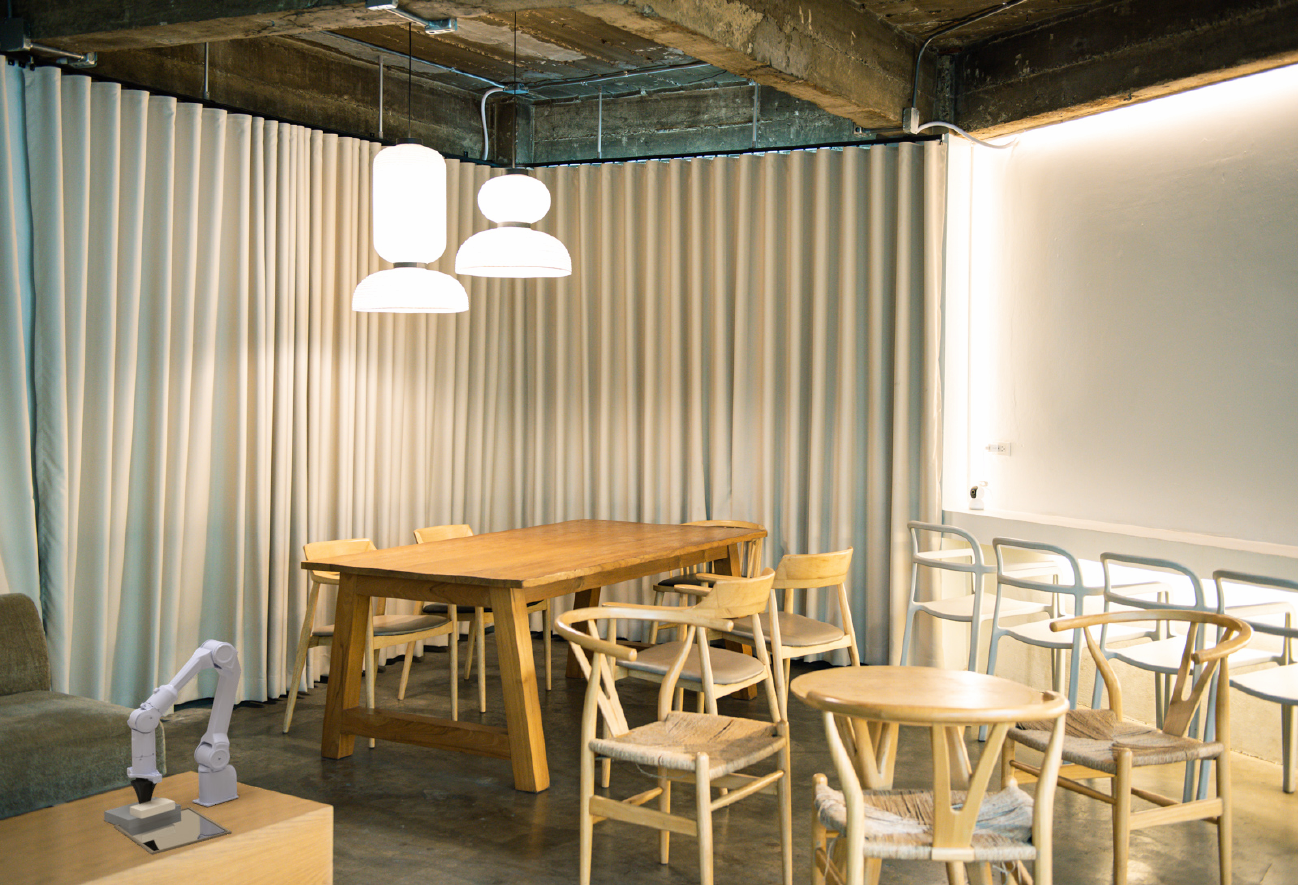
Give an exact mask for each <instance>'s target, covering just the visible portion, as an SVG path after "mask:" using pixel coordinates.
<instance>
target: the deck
mask: <svg viewBox="0 0 1298 885" xmlns="http://www.w3.org/2000/svg"><path fill="white" fill-rule="evenodd" d="M159 798H160V797H157V796H152V799H151V801H152V800H156V799H159ZM138 804H139V801H136V802H133V803H129V804H125V805H122V806H119V807H115V808H110V809H107V810H104V811H103V817H104V821H105V822H106V823H110V824H113V825H118V824H120V825H121V826H123V827H126V828H129V829H130V828H133V827H136V826H140V825H143V824H146V823H150V822H153V821H156V820H160V819H163V818H166V817H170V816H173V815H176V814H180V813H181V809H182V805H181V804H178V803H176V802H175V809H173V810H170V811H166V812H163V813H159V814H156V815H153V816H149V817H146V818H142V819H141V818H138V817H135V816H133V815H130V807H131V806H134V805H138Z"/></svg>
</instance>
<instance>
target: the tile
mask: <svg viewBox="0 0 1298 885" xmlns="http://www.w3.org/2000/svg"><path fill="white" fill-rule="evenodd" d="M158 798H159V799H156V800H152V801H149V802H145V803H141V804H138V805H134V806H131V807H130V815H133V816H135V817H138V818H141V819H142V818H146V817H149V816H153V815H156V814H159V813H163V812H166V811H170V810H173V809H175V803H176V801H175V800H172V799H170V798H167V797H158Z"/></svg>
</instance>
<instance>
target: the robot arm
mask: <svg viewBox="0 0 1298 885" xmlns="http://www.w3.org/2000/svg"><path fill="white" fill-rule="evenodd" d="M238 653H239V651H238V650H237V649H236V648H235V647H234V646H233V645H232V643H230V642H225V641H219V640H218V639H213V638H212V639H211V638H210V639H207V640H205V641H204V642H203V643H202V644H201V645H200V647H198V648H196V649H195V651H194V653H193V654H192V656H191V657H190V658H189V659H188V660H187V661H186V663H185V664H184V665H183V667H182V668H181V669H180V670H179V671H178V672H177V673H176V674H175V676H173V678H172V679H171V681H169V683H168V684H161V685H160V686H159V687H155V688H154V689H153V690H152V691H153V693H152V695H150V696H149V698H148V699H146V701H145V702H141V704H140V705H139V708H136V709H134V710H133V711H132V712H131V713H130V715H129V718H128V720H126V722H127V726H128V727H129V728H130V729H131V765H132V766H129V767H127V768H126V775H127V777H128V778H131V780H130V782H129V784H130V785H131V786H132V789H134V791H135V792H134V793H135V794H136V798H137V802H139V804H141V803H145V802H149V801H151V799H152V798H153V794H154V790H155V788H156V786H157V784H159V783H162V782H163V774H162V773H160V772H159V770H158V769H157V755H156V754H157V753H156V728H158V726H159V723H160V719H161V718H162V716H163V715H164V714H165V713H166V712H167V711H168V710H169V709H171V708H170V707H172V706H173V705H174V704H175V702H177V701H178V698H179V692H180V691H181V690H182V689H183V688H184V687H185V686H187V684H188V683H190V681H192V679H193V678H194V677H196V676H197V674H198V673H200V672H201V671H202V670H207V669H213V668H214V670H215V671H216V673H218V675H219V676H218V677H219V678H218V682H217V686H216V689H215V690H216V691H215V694H214V699H213V704H212V709H211V712H210V715H209V716H210V717H209V719H208V720H209V721H208V725H207V730H206V732H205V733H204V734H203V735H202V737H201V738H200V742H199V744H198V746H197V747H196V749H195V751H194V754H193V756H194V760H195V762H196V764H198V768H197V770H198V771H197V772H198V774H197V775H198V798H196V799H193V800H191V801H192V803H195V804H197V805H200V806H204V807H211V806H214V805H215V804H216V805H218V804H221V803H225V802H228V801H231V800H236V799H238V798H239V797H240V796H239V795H238V783H237V780H238V779H237V778H238V777H237V776H238V775H237V771H236V768H235V767H234V766H233V764H229V763H230V759H231V754H230V744H231V743H230V740H229V737H228V732H229V726H230V723H231V718H232V713H233V708H234V705H235V701H236V696H237V691H238V688H239V687H238V686H239V683H240V679H241V674H242V668H241V666H240V661H239V658H238ZM133 778H134V779H133Z"/></svg>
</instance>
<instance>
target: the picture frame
mask: <svg viewBox="0 0 1298 885" xmlns="http://www.w3.org/2000/svg"><path fill="white" fill-rule="evenodd" d="M113 825H114V824H113ZM114 829H115V830H117V831H118V832H120V833H121V834H122V835H124V836H125V837H127V838H128V839H130V840H131V841H132V842H133V843H135V844H136V843H137V845H138V846H139V847H140V848H142V849H144V850H145V851H146V852H147V853H149V854H150V855H155V854H156V855H157V854H160V853H165V852H167V851H171V850H175V849H179V848H182V847H183V848H184V847H186V846H190V845H193V844H198V843H201V842H205V841H209V840H212V839H216V838H220V837H224V836H227V834H228V835H232V832H233V831H232V830H230V829H228V828H226V827H225V826H223V825H221V824H220V823H218V822H216V821H215V820H213V819H212V818H209V817H208V816H206V815H205V814H203V813H201V812H199V810H196V809H194V808H193V807H191V806H188V807H184V808H183V807H182V808H181V813H180V814H176V815H173V816H170V817H166V818H163V819H160V820H156V821H153V822H150V823H146V824H143V825H140V826H136V827H133V828H130V829H129V828H126V827H123V826H121V825H120V824H118V825H114Z"/></svg>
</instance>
